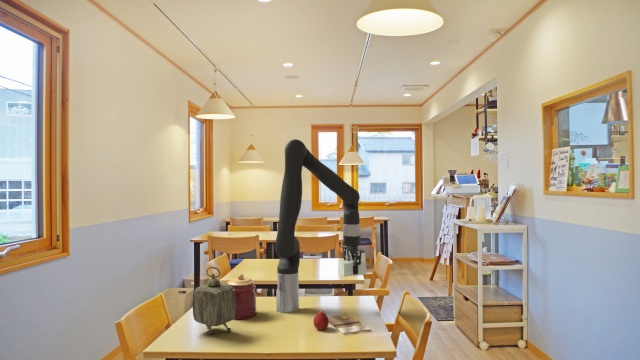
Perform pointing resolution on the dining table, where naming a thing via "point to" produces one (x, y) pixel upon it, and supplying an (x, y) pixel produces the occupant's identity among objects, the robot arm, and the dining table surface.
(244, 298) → the canister
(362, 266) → the block
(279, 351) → the dining table surface
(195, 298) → the tabletop clock
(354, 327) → the board
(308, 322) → the dining table surface
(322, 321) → the onion
